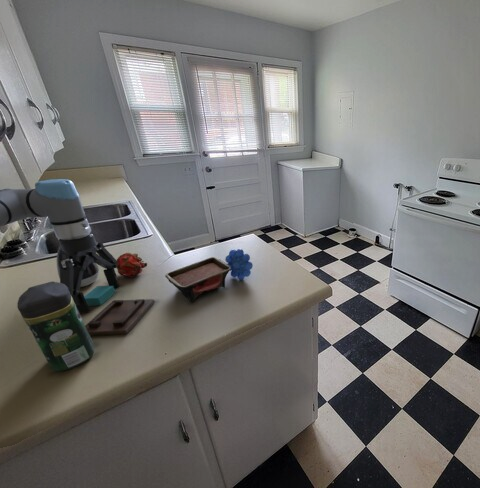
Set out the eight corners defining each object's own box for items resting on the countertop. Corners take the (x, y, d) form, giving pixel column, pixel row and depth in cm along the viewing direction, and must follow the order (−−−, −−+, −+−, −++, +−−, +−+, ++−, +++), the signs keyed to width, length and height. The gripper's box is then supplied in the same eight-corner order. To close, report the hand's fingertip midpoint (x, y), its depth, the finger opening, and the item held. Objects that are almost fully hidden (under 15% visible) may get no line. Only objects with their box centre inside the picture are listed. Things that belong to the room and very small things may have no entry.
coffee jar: (50, 354, 64) (14, 287, 57) (92, 337, 69) (64, 274, 62) (51, 379, 58) (10, 307, 50) (97, 359, 63) (67, 291, 55)
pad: (101, 305, 82) (98, 298, 81) (83, 305, 81) (80, 298, 80) (115, 292, 88) (113, 285, 87) (99, 293, 88) (97, 286, 87)
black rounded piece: (77, 294, 87) (58, 251, 81) (57, 288, 90) (38, 246, 84) (109, 279, 96) (95, 239, 90) (90, 274, 99) (75, 235, 93)
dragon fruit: (127, 271, 104) (144, 284, 99) (103, 268, 96) (120, 281, 91) (137, 251, 105) (155, 263, 100) (114, 246, 97) (132, 258, 92)
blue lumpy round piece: (261, 277, 97) (258, 246, 92) (249, 286, 92) (245, 254, 87) (236, 270, 102) (232, 241, 97) (223, 278, 96) (218, 248, 91)
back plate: (127, 333, 70) (124, 326, 69) (78, 336, 70) (75, 328, 69) (154, 302, 83) (152, 295, 82) (114, 303, 82) (111, 297, 81)
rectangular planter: (235, 293, 91) (234, 264, 89) (178, 309, 79) (176, 276, 76) (216, 280, 101) (215, 255, 98) (163, 293, 88) (160, 264, 86)
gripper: (51, 253, 65) (83, 324, 73) (117, 221, 88) (135, 277, 96) (18, 254, 65) (54, 325, 73) (93, 221, 87) (113, 278, 96)
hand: (100, 298), depth 85 cm, fingers open, 13 cm apart
